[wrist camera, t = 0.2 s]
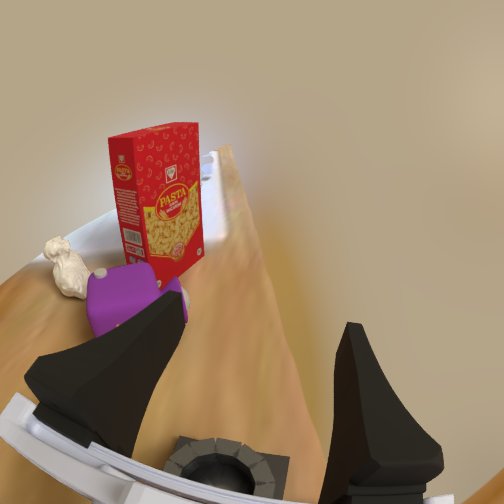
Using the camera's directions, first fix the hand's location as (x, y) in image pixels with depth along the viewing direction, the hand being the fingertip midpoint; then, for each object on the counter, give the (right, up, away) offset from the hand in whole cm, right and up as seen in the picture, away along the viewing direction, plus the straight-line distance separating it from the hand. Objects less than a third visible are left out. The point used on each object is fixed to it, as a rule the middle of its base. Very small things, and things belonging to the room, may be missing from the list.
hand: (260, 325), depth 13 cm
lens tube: (-3, -20, +8) cm, 22 cm away
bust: (-32, -4, +36) cm, 48 cm away
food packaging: (-15, 0, +42) cm, 45 cm away
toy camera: (-15, -9, +28) cm, 33 cm away
